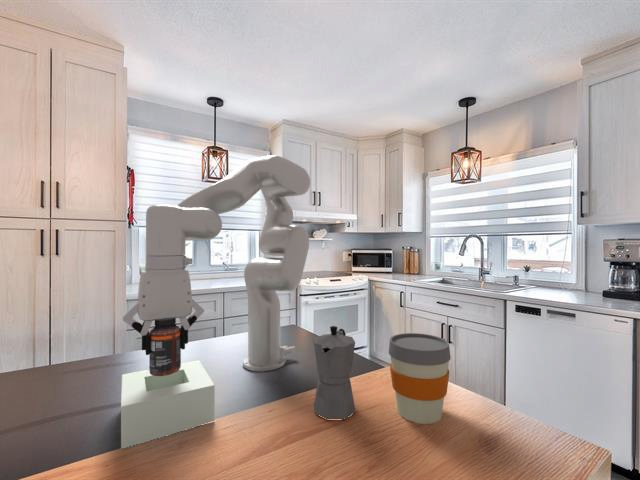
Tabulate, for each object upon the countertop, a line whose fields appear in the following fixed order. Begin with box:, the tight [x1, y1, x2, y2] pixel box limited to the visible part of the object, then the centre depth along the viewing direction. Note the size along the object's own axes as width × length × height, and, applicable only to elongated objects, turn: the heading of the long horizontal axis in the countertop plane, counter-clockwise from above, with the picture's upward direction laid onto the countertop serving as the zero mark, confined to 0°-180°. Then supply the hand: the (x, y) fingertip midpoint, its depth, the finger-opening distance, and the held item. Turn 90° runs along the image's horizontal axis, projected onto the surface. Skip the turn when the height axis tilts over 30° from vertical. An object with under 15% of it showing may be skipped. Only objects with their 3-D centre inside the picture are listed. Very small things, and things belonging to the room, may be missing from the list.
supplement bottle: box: [148, 318, 182, 376], centre depth 67 cm, size 6×6×11 cm
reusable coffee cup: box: [388, 332, 451, 425], centre depth 68 cm, size 13×13×15 cm
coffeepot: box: [312, 325, 356, 419], centre depth 70 cm, size 15×9×18 cm, turn 162°
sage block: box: [120, 359, 216, 450], centre depth 67 cm, size 16×16×8 cm
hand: (165, 349), depth 67 cm, fingers closed on supplement bottle, 5 cm apart
